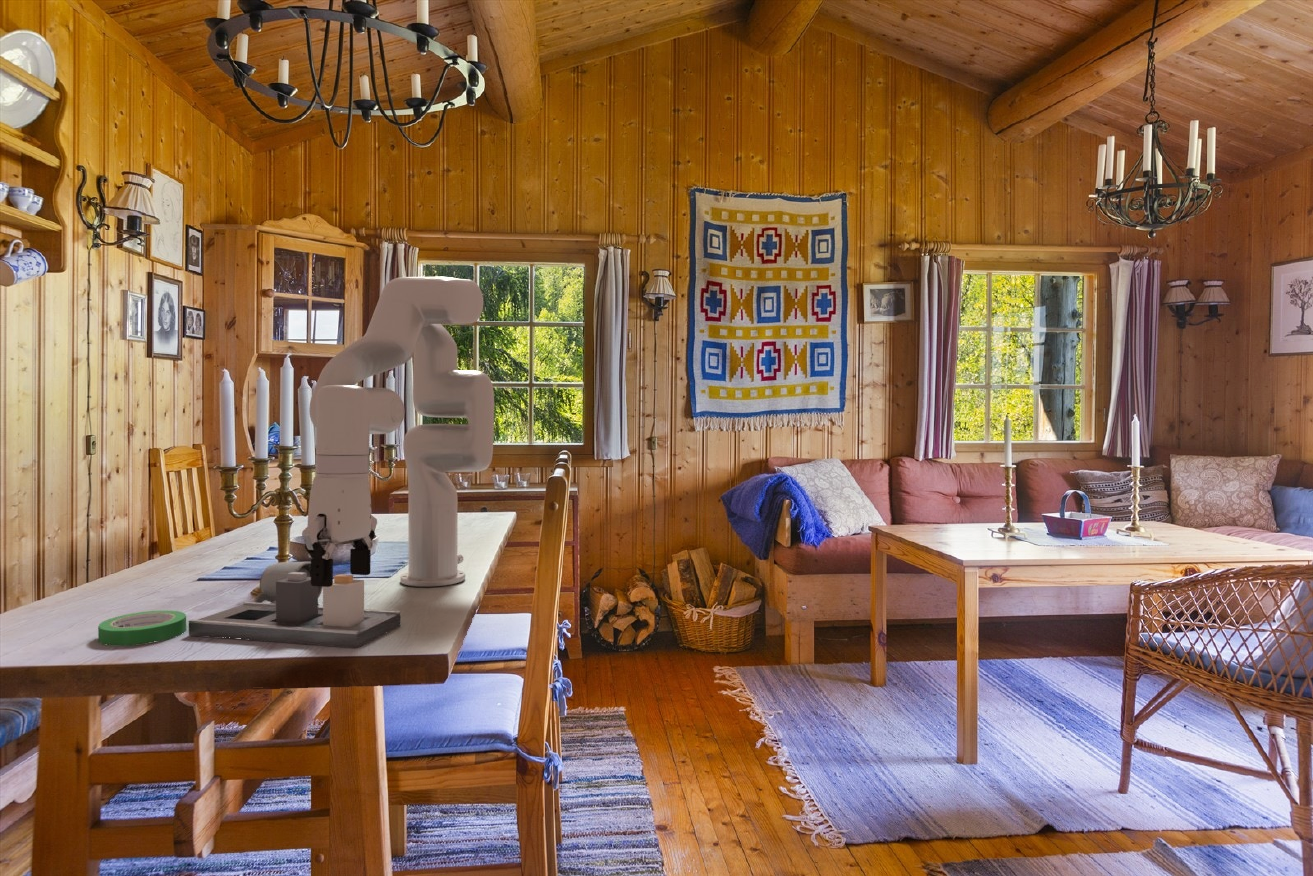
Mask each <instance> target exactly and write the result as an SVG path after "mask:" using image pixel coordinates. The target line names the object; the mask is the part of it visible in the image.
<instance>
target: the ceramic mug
mask: <svg viewBox="0 0 1313 876" xmlns="http://www.w3.org/2000/svg"><path fill="white" fill-rule="evenodd" d="M291 572H302V573H307V577H311V561H289V562H287V561H285V562H283V561H282V562H277V563H273V564H270V565H269V566H268V567H267V568H265V570H264V571H263V573H262V574H261V577H260V581H259V590H260V591H259V592H260V593H259V594H257V595H256V597H254V599H253V602H255V603H264V601H267V602H269V603H271V604H276V582H277V581H280V580H283V579H286V578H288V573H291ZM322 593H323V587H320V586H318V599H319V598H320V596H321V594H322Z"/></svg>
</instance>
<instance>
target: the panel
mask: <svg viewBox="0 0 1313 876" xmlns="http://www.w3.org/2000/svg"><path fill="white" fill-rule="evenodd" d="M397 627H398V628H399V627H401V611H395V610H382V609H380V610H379V609H368V608H367V609H366V608H364V621H362V622H360V623H357V624H355V625H353V626H351V627H343V626H328V625H323V606H319V605H318V617H317V618H315V619H312V620H310V621H307V622H305V623H302V624H299V623H284V622H276V604H271V602H269V603H268V602H266V603H265V602H262V603H255V602H254V601H251V602H250V601H245V602H243V603H242V604H240V605H238V606H235V607H232V608H229V609H228V608H227V609H225V610H222V611H219V612H216V613H214V614H210V615H207V616H204V617H201V618H198V619H189V620H188V636H189V637H199V636H209V637H208V638H213V637H221V638H220V639H227V638H229V637H230V638H241V639H249V640H248V641H254V640H255V642H268V641H269V643H283V644H294V645H295V644H297V645H308V646H309V645H311V646H325V647H336V648H337V647H338V648H350V649H351V648H352V649H357V648H360V647H362V646H363V645H366V644H368V643H370V642H371V641H374V640H375V638H376V639H377V637H378V638H379V636H380V637H381V636H384V635H385V633H386V632H388V633H390V632H391V631H394V630H395V628H396V629H397ZM393 629H394V630H393ZM383 634H384V635H383ZM386 634H387V633H386ZM222 637H224V638H222ZM225 637H226V638H225Z"/></svg>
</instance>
